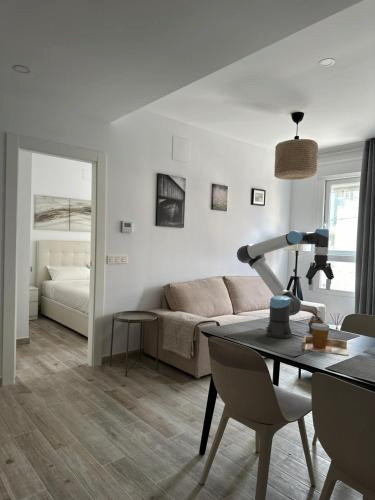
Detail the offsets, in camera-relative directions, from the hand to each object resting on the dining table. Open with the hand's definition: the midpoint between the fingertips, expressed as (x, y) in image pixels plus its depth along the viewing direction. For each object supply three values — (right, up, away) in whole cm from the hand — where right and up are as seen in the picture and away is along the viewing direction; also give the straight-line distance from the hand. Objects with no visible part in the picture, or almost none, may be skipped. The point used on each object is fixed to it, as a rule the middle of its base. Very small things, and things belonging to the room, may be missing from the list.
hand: (319, 290), depth 212 cm
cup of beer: (-8, -28, -23) cm, 37 cm away
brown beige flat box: (-6, -29, -23) cm, 37 cm away
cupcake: (+4, -29, +17) cm, 34 cm away
